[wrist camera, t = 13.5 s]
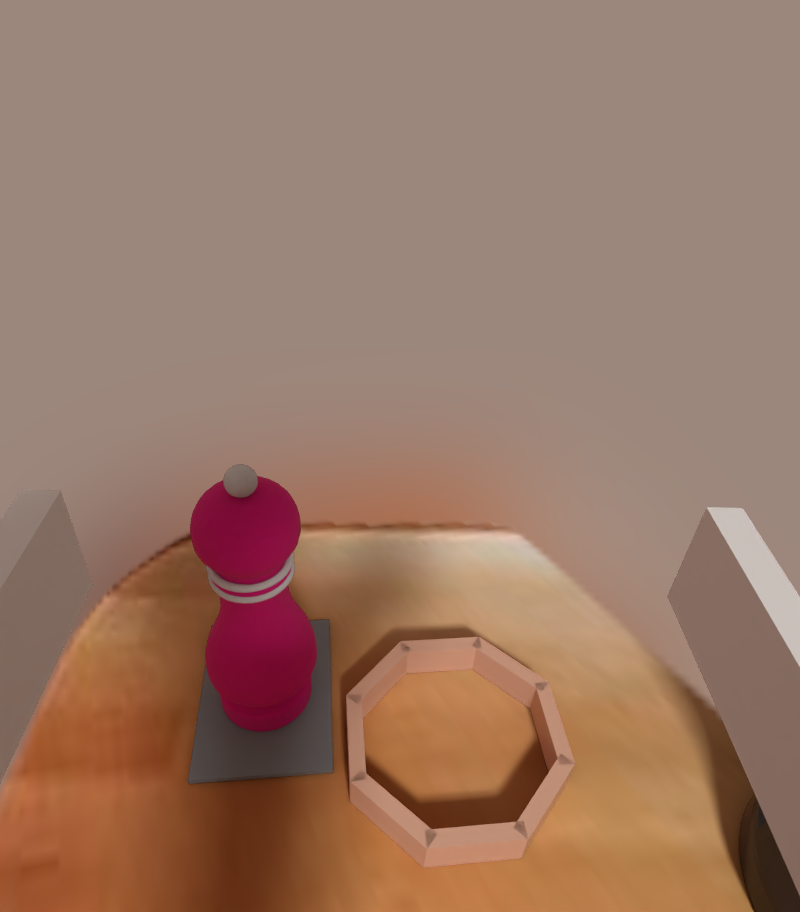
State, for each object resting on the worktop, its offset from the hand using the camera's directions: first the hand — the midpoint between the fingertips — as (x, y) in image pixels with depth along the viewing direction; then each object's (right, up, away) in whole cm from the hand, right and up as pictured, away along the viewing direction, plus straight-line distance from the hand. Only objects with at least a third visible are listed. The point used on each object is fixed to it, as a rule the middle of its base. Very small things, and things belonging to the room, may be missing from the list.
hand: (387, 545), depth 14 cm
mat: (-9, -15, +33) cm, 37 cm away
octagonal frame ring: (+4, -18, +30) cm, 35 cm away
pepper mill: (-9, -15, +32) cm, 37 cm away
